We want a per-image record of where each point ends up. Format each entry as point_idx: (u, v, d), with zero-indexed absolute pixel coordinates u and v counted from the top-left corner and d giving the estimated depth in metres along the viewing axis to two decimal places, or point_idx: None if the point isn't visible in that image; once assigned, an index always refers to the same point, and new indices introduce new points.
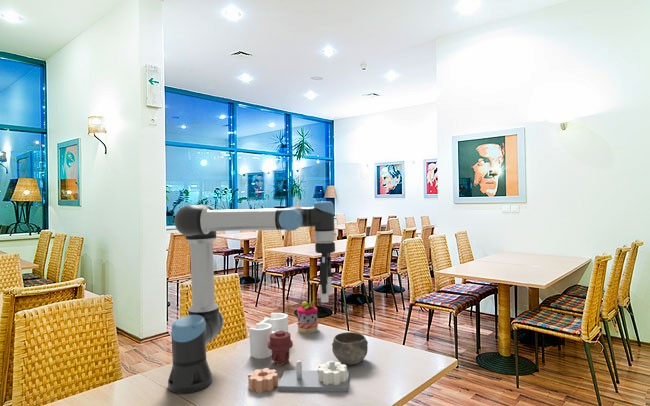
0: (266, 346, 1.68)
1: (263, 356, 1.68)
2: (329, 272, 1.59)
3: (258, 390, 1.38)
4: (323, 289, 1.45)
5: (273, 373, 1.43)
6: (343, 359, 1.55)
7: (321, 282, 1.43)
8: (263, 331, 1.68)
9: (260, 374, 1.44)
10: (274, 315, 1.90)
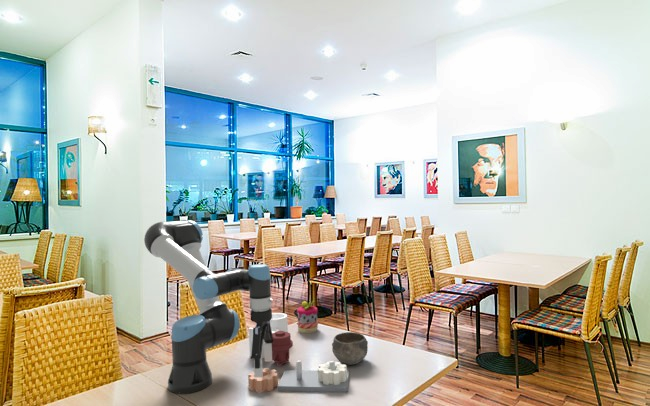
0: None
1: (262, 356, 1.68)
2: (268, 339, 1.48)
3: (258, 390, 1.38)
4: (256, 363, 1.34)
5: (273, 373, 1.43)
6: (343, 359, 1.55)
7: (253, 357, 1.33)
8: None
9: None
10: (274, 315, 1.91)
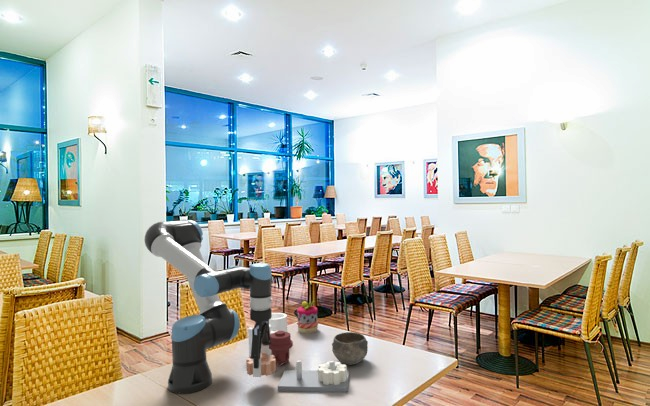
0: None
1: None
2: (266, 340, 1.48)
3: None
4: (255, 364, 1.36)
5: (271, 358, 1.44)
6: (343, 359, 1.55)
7: (252, 357, 1.35)
8: None
9: None
10: (273, 315, 1.91)
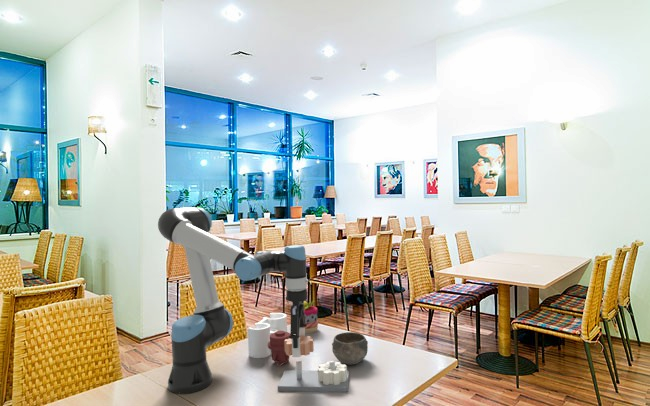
0: (264, 346, 1.69)
1: (261, 356, 1.68)
2: (302, 322, 1.49)
3: None
4: (294, 343, 1.37)
5: (309, 339, 1.45)
6: (343, 359, 1.55)
7: (292, 337, 1.36)
8: (262, 331, 1.68)
9: None
10: (273, 315, 1.91)
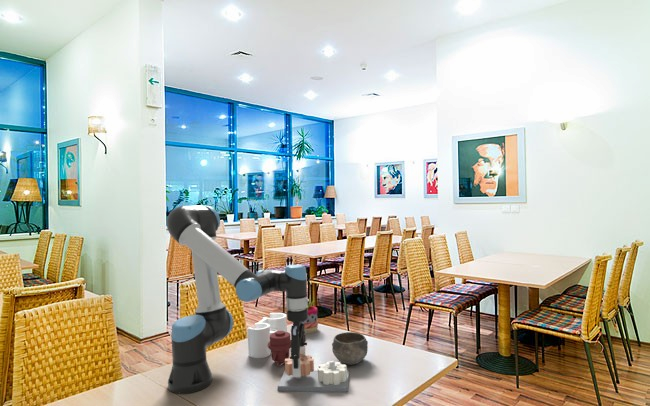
0: (264, 346, 1.69)
1: (261, 356, 1.68)
2: (302, 341, 1.49)
3: None
4: (295, 364, 1.38)
5: (309, 358, 1.45)
6: (343, 359, 1.55)
7: (292, 357, 1.36)
8: (261, 331, 1.68)
9: None
10: (273, 315, 1.91)
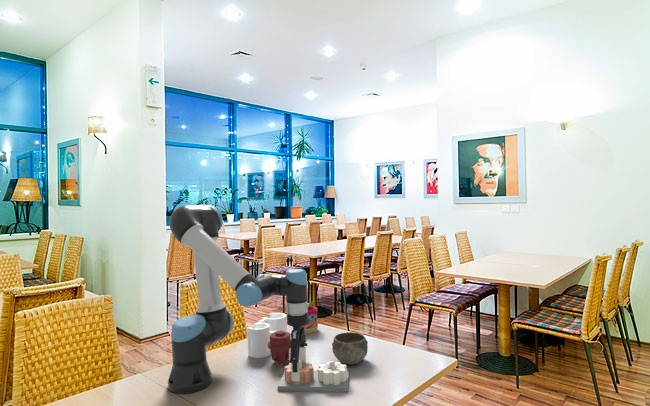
0: (264, 346, 1.69)
1: (261, 356, 1.68)
2: (303, 342, 1.50)
3: (295, 382, 1.40)
4: (294, 368, 1.36)
5: (309, 366, 1.45)
6: (343, 359, 1.55)
7: (291, 361, 1.35)
8: (261, 331, 1.68)
9: None
10: (273, 315, 1.91)
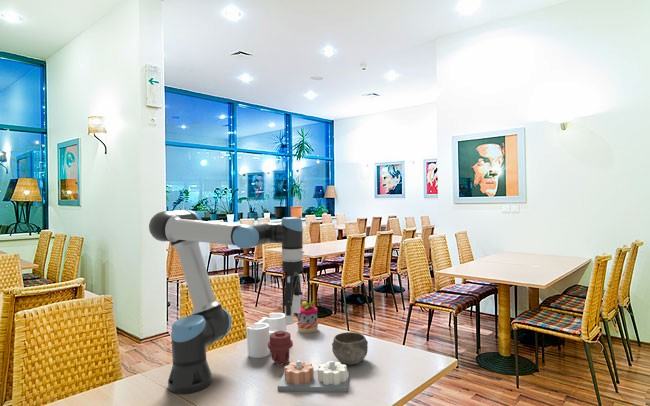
0: (263, 345, 1.69)
1: (260, 355, 1.68)
2: (298, 291, 1.52)
3: (295, 382, 1.40)
4: (287, 311, 1.38)
5: (309, 366, 1.45)
6: (343, 359, 1.55)
7: (285, 303, 1.36)
8: (261, 331, 1.68)
9: None
10: (273, 315, 1.91)
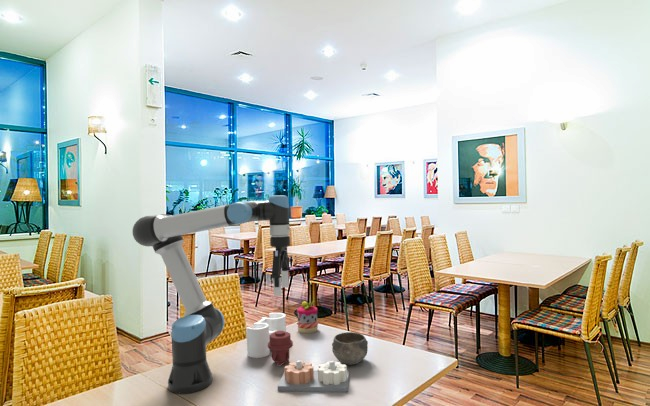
0: (263, 345, 1.69)
1: (260, 355, 1.68)
2: (286, 266, 1.60)
3: (295, 382, 1.40)
4: (275, 282, 1.46)
5: (309, 366, 1.45)
6: (343, 359, 1.55)
7: (273, 275, 1.44)
8: (260, 331, 1.68)
9: None
10: (272, 315, 1.91)
